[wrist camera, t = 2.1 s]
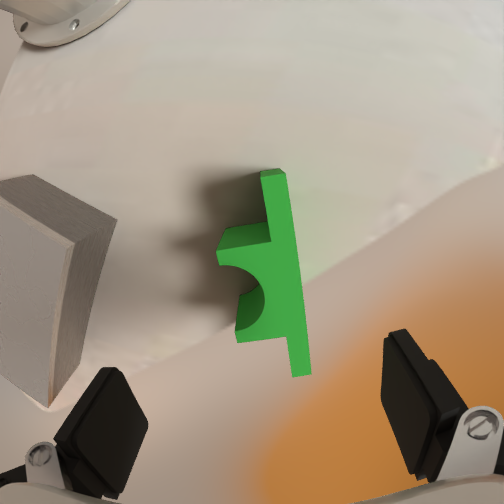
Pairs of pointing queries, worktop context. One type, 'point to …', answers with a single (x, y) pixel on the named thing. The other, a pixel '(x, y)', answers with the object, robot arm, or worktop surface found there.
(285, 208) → the pipe clamp
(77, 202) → the gray rectangular block
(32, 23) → the robot arm
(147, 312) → the worktop surface
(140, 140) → the worktop surface
